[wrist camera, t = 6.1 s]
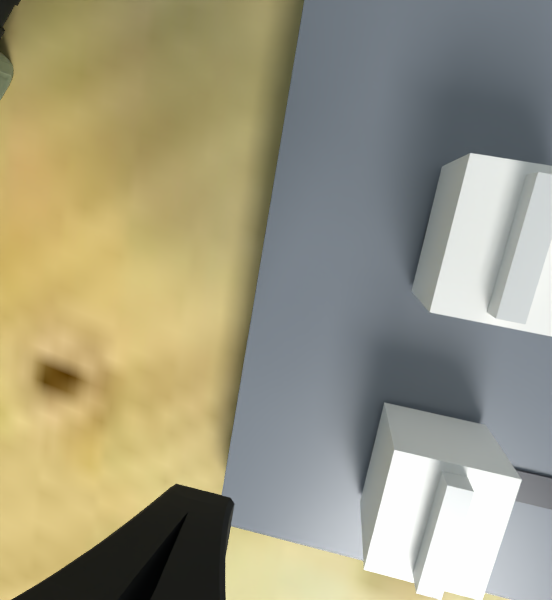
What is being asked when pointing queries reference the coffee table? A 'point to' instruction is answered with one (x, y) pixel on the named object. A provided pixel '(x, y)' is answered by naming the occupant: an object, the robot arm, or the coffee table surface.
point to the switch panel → (389, 270)
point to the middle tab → (490, 244)
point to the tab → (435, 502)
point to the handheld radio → (0, 67)
